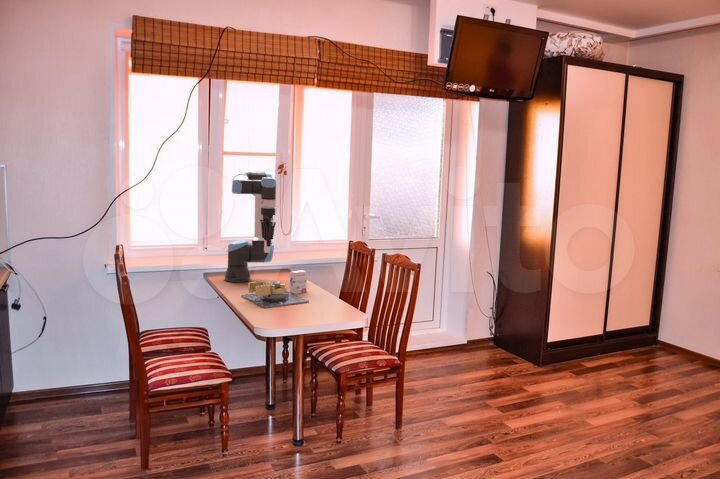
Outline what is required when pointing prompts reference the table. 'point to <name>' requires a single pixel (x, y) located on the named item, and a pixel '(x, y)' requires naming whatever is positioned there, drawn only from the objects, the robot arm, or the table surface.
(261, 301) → the cap plate
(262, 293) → the octagonal ring stand
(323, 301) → the table surface
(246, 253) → the robot arm
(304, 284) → the ink box
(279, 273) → the table surface
